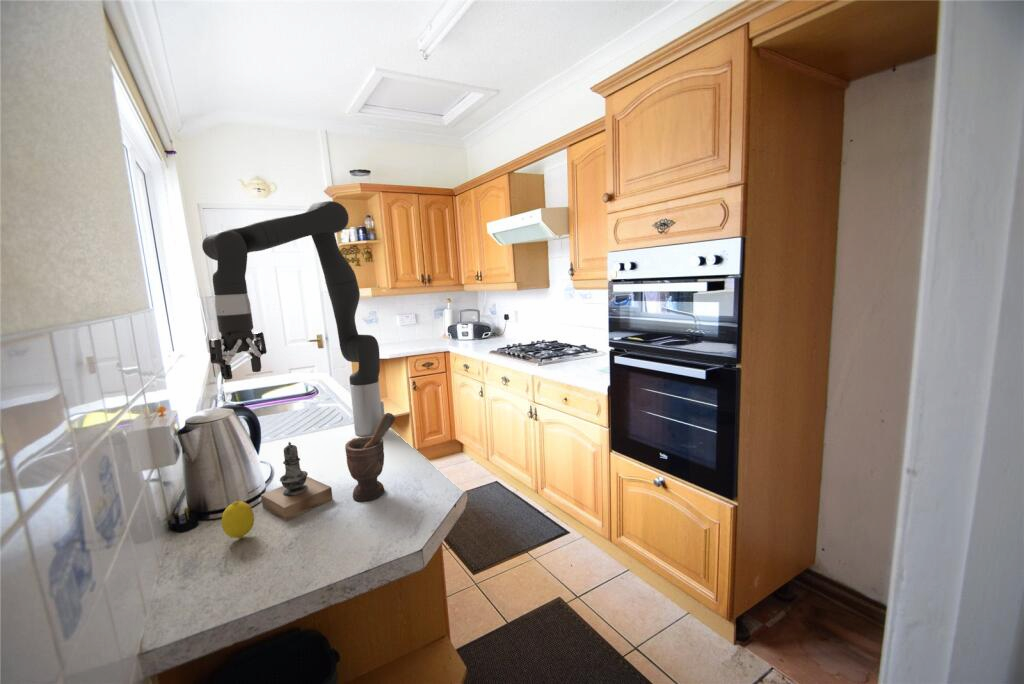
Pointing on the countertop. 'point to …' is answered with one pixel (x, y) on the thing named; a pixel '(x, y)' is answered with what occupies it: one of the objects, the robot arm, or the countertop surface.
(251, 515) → the lemon
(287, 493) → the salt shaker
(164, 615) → the countertop surface
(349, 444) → the mortar and pestle
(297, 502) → the walnut plinth
